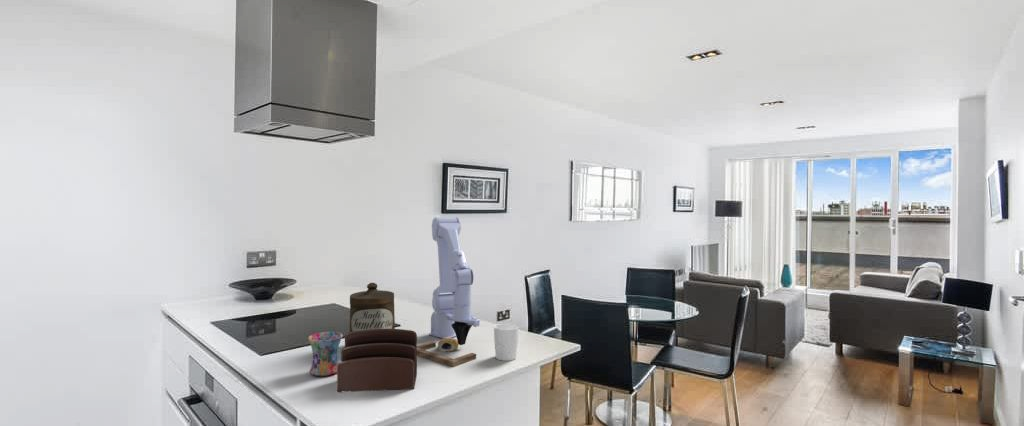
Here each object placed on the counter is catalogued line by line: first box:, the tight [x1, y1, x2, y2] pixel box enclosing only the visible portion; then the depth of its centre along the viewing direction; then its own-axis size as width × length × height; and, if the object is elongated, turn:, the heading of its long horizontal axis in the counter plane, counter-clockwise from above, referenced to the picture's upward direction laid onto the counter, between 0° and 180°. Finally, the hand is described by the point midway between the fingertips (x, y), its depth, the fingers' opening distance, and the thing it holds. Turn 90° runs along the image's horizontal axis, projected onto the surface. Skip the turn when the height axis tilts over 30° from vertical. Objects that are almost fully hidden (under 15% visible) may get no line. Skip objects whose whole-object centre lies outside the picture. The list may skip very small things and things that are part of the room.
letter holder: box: [336, 328, 418, 393], centre depth 128 cm, size 10×20×14 cm, turn 98°
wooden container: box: [349, 282, 396, 332], centre depth 160 cm, size 15×15×22 cm
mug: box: [307, 331, 344, 377], centre depth 137 cm, size 12×9×11 cm
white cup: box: [493, 323, 520, 362], centre depth 150 cm, size 8×8×10 cm
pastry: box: [436, 337, 459, 352], centre depth 161 cm, size 9×7×4 cm
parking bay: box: [417, 341, 477, 368], centre depth 152 cm, size 21×10×2 cm, turn 51°
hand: (461, 344), depth 159 cm, fingers closed
